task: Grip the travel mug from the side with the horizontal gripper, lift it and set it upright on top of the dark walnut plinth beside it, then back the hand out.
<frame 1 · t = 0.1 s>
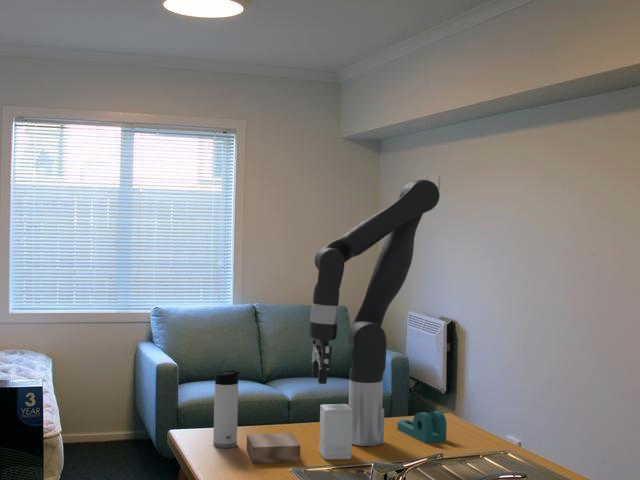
hand: (318, 380, 205), 17 cm above the kitchen counter, tool pointing down, fingers open, 8 cm apart
bracket: (418, 435, 218), on the kitchen counter
walnut plinth: (272, 455, 194), on the kitchen counter
supplement box: (335, 456, 195), on the kitchen counter
travel mug: (225, 445, 202), on the kitchen counter
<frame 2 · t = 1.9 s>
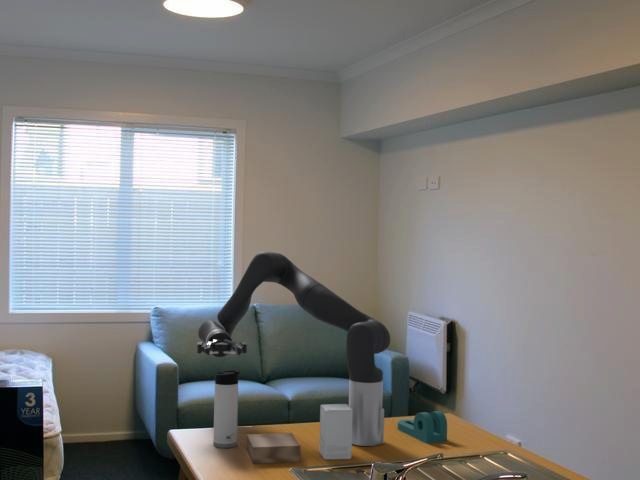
hand: (223, 351, 213), 23 cm above the kitchen counter, tool horizontal, fingers open, 8 cm apart
nothing on the kitchen counter moved.
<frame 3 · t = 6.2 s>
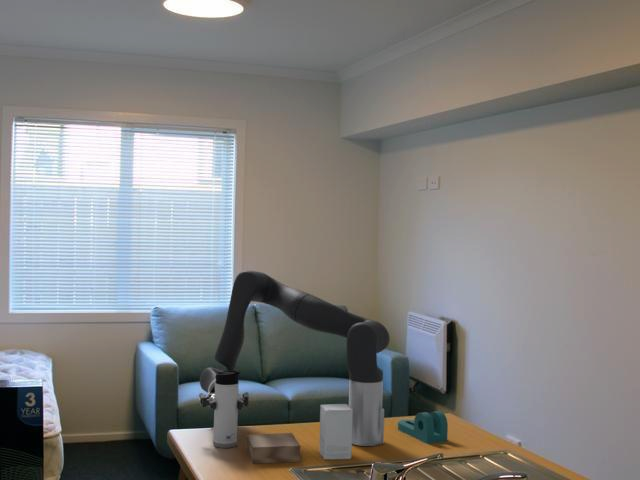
hand: (227, 405, 200), 11 cm above the kitchen counter, tool horizontal, fingers closed on travel mug, 6 cm apart
travel mug: (225, 445, 202), on the kitchen counter, touching gripper
everything else where it was.
when the fingers open (16 cm above the kitchen counter, at t = 11.7 s): travel mug drops 1 cm, resting on walnut plinth.
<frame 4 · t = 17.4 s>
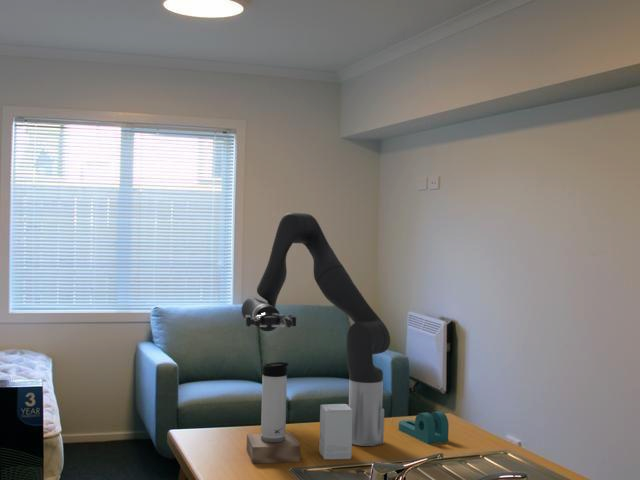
hand: (274, 323, 209), 32 cm above the kitchen counter, tool horizontal, fingers open, 8 cm apart
travel mug: (273, 440, 194), point 4 cm above the kitchen counter, touching walnut plinth
everything else where it was.
at the end: travel mug inside the target area on the walnut plinth (0.3 cm from its centre), point 3.8 cm above the walnut plinth's base; travel mug tilted 0°; the gripper is holding nothing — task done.
